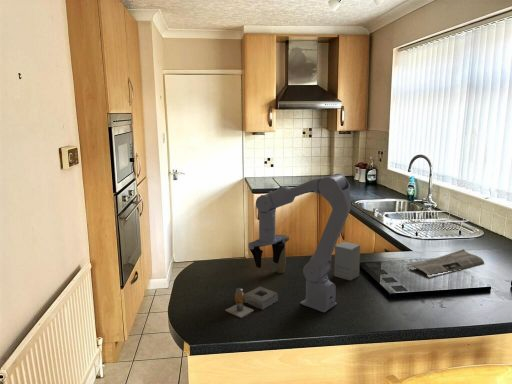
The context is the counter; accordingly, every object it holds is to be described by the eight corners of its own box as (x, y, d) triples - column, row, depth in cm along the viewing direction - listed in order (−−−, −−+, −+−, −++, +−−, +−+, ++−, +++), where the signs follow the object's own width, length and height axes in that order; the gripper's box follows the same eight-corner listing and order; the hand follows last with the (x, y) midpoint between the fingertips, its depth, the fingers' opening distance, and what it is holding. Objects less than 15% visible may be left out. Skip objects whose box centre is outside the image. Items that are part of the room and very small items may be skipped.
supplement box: (359, 275, 154) (361, 245, 152) (350, 281, 149) (351, 249, 147) (343, 270, 159) (344, 241, 157) (333, 276, 154) (334, 245, 152)
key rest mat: (253, 311, 126) (253, 309, 126) (241, 318, 122) (241, 316, 122) (238, 304, 131) (238, 303, 131) (225, 310, 126) (225, 309, 126)
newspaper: (428, 279, 151) (429, 271, 151) (403, 269, 162) (404, 260, 162) (486, 264, 167) (486, 256, 166) (459, 255, 178) (460, 248, 177)
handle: (275, 268, 162) (275, 234, 159) (290, 271, 159) (290, 235, 156) (271, 272, 157) (271, 237, 155) (286, 275, 155) (286, 239, 152)
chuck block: (277, 301, 133) (277, 292, 132) (262, 309, 127) (262, 301, 126) (259, 294, 138) (259, 286, 138) (244, 302, 132) (244, 293, 132)
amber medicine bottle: (244, 307, 128) (244, 287, 127) (244, 311, 125) (244, 290, 124) (235, 308, 127) (234, 287, 126) (235, 312, 124) (234, 291, 124)
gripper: (277, 222, 144) (276, 257, 146) (243, 228, 136) (244, 265, 139) (288, 226, 138) (288, 263, 141) (254, 233, 130) (254, 271, 133)
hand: (267, 264), depth 139 cm, fingers open, 7 cm apart
